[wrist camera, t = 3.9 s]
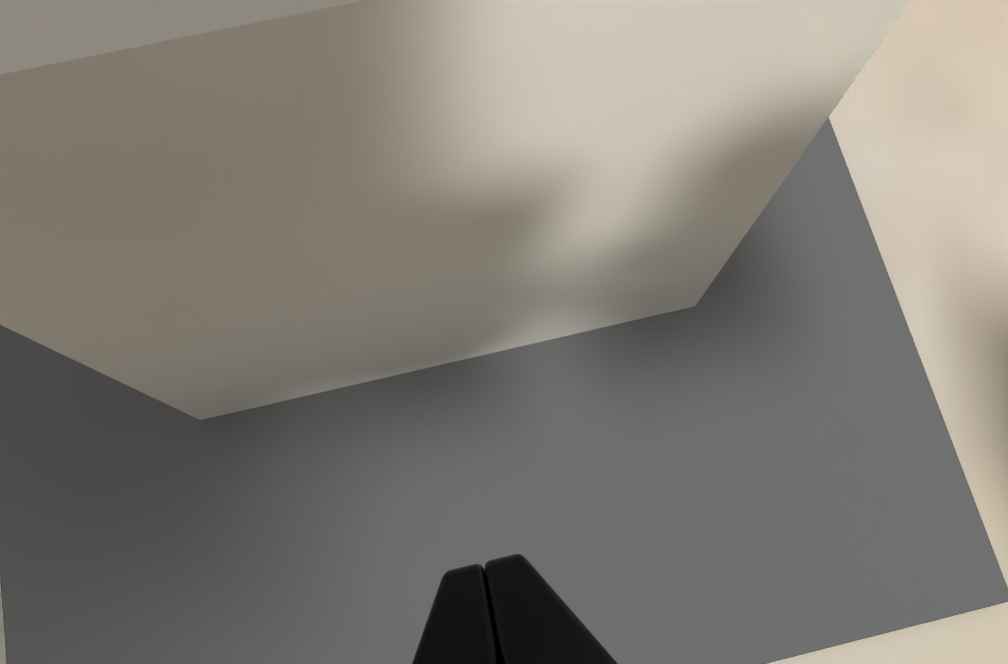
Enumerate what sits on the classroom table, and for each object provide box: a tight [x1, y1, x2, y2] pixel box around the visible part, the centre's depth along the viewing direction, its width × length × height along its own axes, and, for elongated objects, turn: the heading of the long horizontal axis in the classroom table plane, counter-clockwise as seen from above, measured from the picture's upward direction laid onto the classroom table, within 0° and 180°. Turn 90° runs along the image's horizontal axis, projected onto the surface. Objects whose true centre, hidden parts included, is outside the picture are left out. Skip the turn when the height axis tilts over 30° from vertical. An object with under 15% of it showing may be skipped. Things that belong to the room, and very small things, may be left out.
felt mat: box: [0, 117, 1008, 664], centre depth 18 cm, size 22×18×1 cm
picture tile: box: [0, 0, 910, 420], centre depth 12 cm, size 2×10×11 cm, turn 103°
